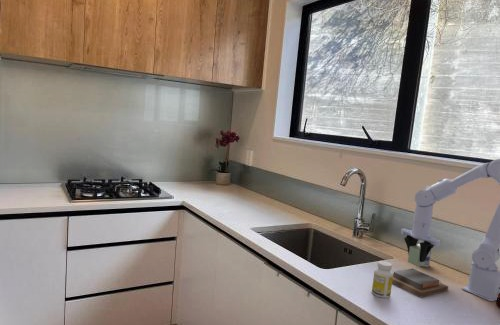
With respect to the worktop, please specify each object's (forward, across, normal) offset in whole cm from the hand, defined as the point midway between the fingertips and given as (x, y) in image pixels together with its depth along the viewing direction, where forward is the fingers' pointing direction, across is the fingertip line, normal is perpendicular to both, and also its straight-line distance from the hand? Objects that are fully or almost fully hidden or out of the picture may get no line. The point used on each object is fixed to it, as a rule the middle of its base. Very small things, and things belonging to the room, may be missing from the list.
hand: (416, 259), depth 138 cm
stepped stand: (+5, +8, -11) cm, 14 cm away
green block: (+2, 0, 0) cm, 2 cm away
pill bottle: (+5, -4, +10) cm, 12 cm away
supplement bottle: (+5, +9, -29) cm, 31 cm away
